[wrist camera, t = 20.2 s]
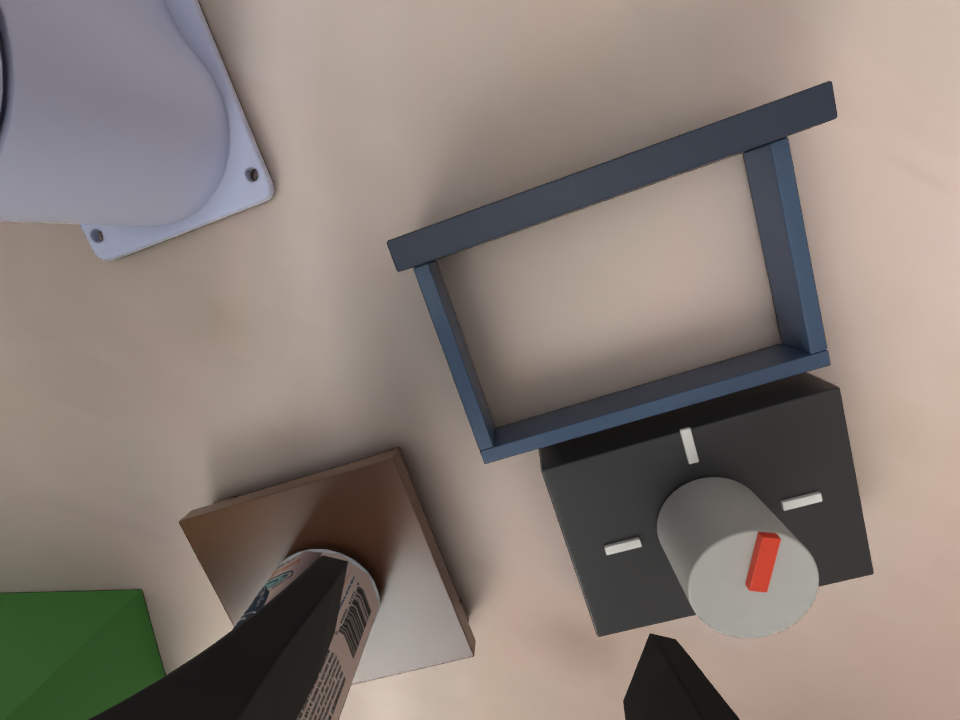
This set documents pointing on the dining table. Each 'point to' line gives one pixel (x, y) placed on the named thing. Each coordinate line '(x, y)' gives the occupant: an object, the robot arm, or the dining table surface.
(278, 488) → the square wooden board
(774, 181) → the bin
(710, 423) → the panel
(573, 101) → the dining table surface
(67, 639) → the hardback book
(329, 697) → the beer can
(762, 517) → the dial
